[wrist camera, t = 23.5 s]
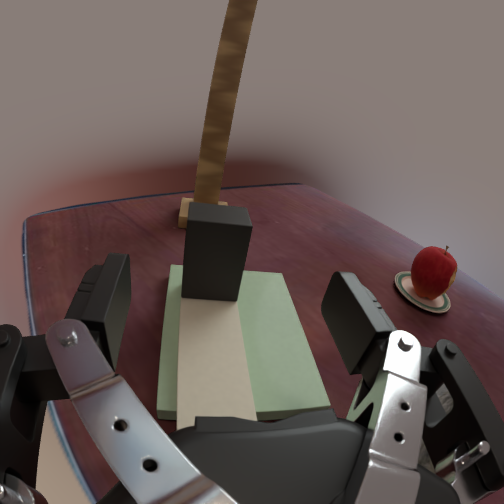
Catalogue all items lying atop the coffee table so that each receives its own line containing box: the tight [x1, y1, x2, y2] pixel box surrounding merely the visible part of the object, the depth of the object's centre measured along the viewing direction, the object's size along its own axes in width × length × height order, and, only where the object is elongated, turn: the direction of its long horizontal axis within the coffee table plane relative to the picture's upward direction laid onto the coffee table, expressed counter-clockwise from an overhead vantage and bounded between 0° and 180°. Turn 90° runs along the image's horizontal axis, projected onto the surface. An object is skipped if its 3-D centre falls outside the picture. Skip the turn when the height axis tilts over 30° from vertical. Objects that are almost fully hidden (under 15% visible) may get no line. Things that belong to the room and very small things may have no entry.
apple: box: [395, 246, 457, 313], centre depth 30 cm, size 8×8×6 cm
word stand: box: [178, 0, 258, 228], centre depth 29 cm, size 6×6×32 cm
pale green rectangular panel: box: [157, 265, 331, 421], centre depth 21 cm, size 10×14×1 cm
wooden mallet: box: [177, 202, 257, 430], centre depth 17 cm, size 4×13×7 cm, turn 8°
